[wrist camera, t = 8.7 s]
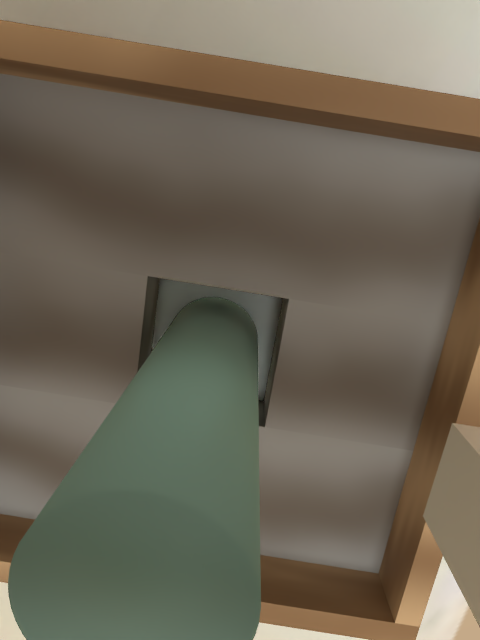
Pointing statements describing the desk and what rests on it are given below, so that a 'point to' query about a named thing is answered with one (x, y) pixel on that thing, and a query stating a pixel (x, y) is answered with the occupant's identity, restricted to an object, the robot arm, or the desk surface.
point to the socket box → (248, 276)
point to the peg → (158, 501)
